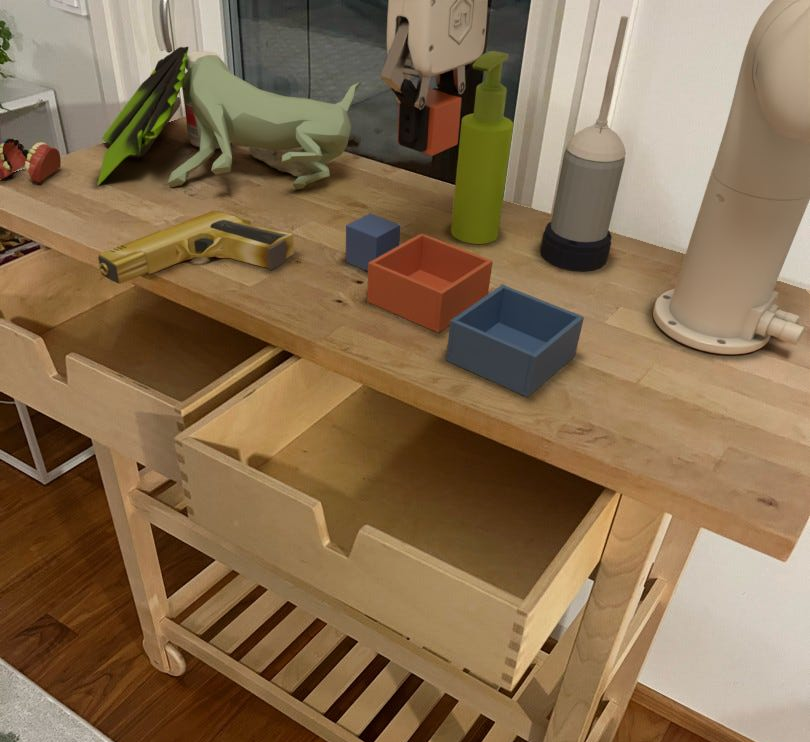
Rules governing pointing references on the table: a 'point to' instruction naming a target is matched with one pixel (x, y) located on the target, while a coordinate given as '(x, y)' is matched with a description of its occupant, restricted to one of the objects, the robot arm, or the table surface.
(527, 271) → the table surface
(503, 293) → the blue bin
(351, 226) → the blue block
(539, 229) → the table surface
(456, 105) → the terracotta block
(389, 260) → the terracotta bin
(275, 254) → the handgun
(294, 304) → the table surface
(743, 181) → the robot arm
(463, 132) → the soap dispenser
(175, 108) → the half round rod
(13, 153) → the dentures
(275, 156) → the sponge
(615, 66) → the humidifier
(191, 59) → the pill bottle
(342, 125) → the statue
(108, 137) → the cloth
